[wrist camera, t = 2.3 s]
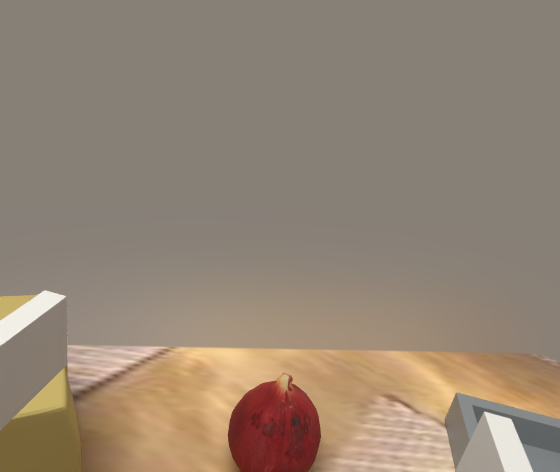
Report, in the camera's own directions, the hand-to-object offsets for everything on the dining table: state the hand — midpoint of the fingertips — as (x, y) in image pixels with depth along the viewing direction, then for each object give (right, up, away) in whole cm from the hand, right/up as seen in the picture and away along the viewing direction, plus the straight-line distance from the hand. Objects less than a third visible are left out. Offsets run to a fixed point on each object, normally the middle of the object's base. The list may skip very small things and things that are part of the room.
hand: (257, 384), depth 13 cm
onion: (0, -11, +15) cm, 19 cm away
